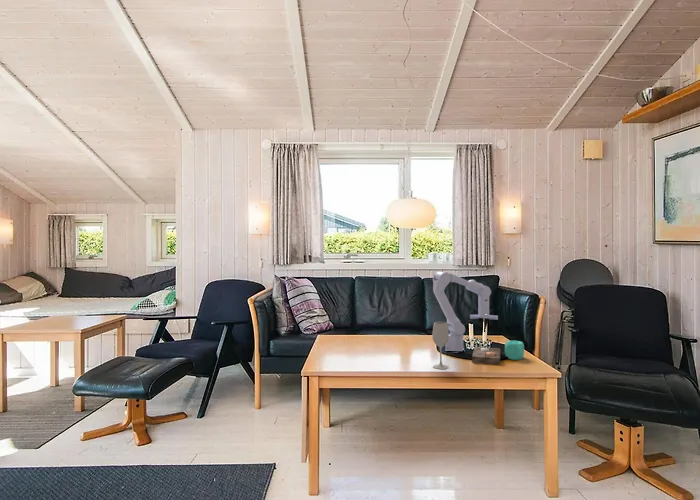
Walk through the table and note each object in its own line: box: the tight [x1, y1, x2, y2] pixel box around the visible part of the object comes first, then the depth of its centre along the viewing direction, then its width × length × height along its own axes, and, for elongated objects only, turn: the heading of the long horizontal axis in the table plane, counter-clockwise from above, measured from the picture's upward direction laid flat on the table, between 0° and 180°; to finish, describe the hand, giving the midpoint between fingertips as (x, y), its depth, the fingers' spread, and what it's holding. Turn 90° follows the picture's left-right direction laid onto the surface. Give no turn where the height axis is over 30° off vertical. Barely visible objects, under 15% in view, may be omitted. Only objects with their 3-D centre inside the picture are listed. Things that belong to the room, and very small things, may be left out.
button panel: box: [471, 346, 501, 365], centre depth 227 cm, size 13×21×3 cm, turn 161°
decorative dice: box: [504, 340, 525, 361], centre depth 227 cm, size 8×8×8 cm
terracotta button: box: [486, 352, 495, 356], centre depth 222 cm, size 4×4×3 cm
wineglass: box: [431, 321, 450, 370], centre depth 212 cm, size 8×8×21 cm
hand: (483, 332), depth 246 cm, fingers closed
